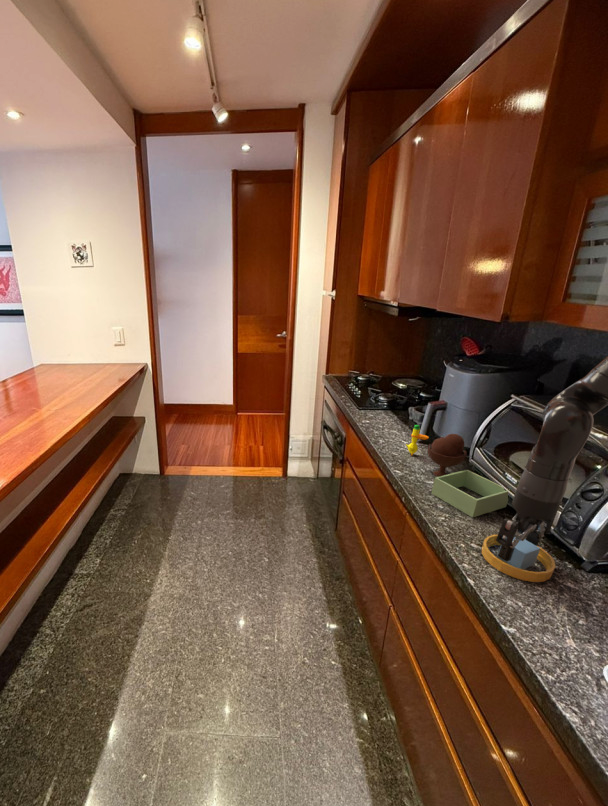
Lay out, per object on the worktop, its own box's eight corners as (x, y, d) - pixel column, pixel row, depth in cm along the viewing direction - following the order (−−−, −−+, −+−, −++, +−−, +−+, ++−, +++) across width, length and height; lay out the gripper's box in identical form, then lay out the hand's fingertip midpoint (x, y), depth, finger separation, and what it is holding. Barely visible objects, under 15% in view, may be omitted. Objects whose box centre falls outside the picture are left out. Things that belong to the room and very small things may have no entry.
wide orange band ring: (505, 539, 95) (508, 529, 94) (564, 574, 84) (569, 563, 83) (467, 552, 91) (471, 542, 90) (525, 591, 80) (529, 580, 79)
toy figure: (424, 457, 138) (431, 426, 133) (423, 461, 135) (429, 429, 130) (404, 453, 141) (410, 422, 137) (402, 456, 138) (408, 425, 134)
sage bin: (462, 486, 119) (467, 469, 117) (505, 509, 107) (511, 490, 105) (430, 495, 114) (434, 477, 112) (471, 519, 103) (477, 500, 101)
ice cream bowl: (446, 467, 130) (456, 426, 125) (467, 484, 120) (479, 440, 114) (415, 468, 130) (424, 427, 124) (434, 485, 120) (445, 441, 114)
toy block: (511, 552, 90) (517, 534, 89) (533, 566, 86) (540, 548, 84) (496, 557, 89) (502, 540, 87) (518, 572, 84) (525, 554, 83)
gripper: (536, 508, 75) (512, 573, 81) (581, 493, 80) (555, 556, 86) (498, 489, 81) (478, 551, 87) (542, 477, 86) (520, 536, 92)
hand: (516, 553), depth 87 cm, fingers open, 8 cm apart
